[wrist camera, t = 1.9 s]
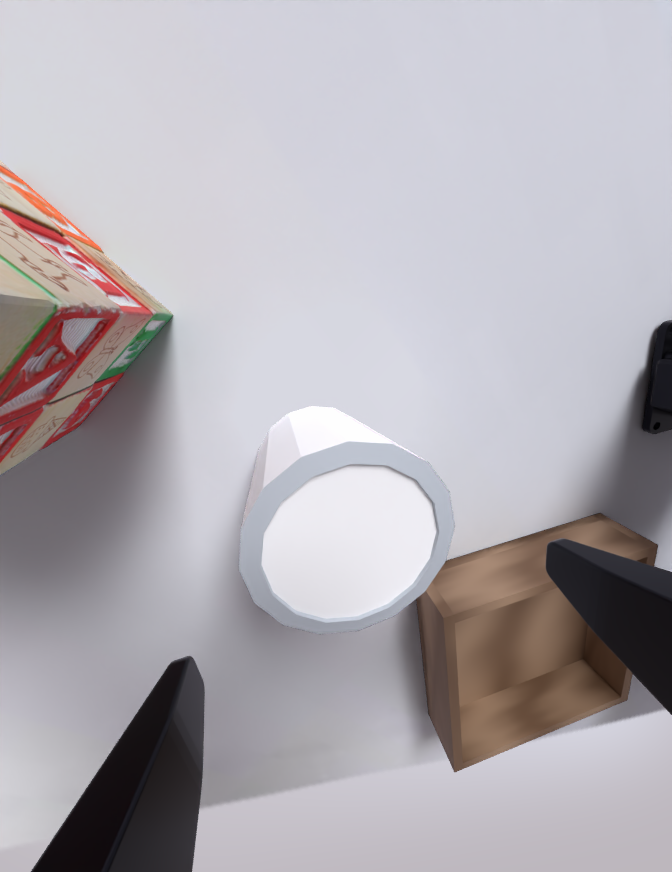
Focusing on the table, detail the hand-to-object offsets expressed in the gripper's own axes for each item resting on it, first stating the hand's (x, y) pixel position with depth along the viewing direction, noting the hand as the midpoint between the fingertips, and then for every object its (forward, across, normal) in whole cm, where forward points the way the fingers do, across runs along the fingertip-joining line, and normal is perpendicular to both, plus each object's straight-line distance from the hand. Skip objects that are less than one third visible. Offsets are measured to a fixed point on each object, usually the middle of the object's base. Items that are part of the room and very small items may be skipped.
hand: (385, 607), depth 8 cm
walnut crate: (+9, -11, +15) cm, 21 cm away
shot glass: (+10, 0, 0) cm, 10 cm away
